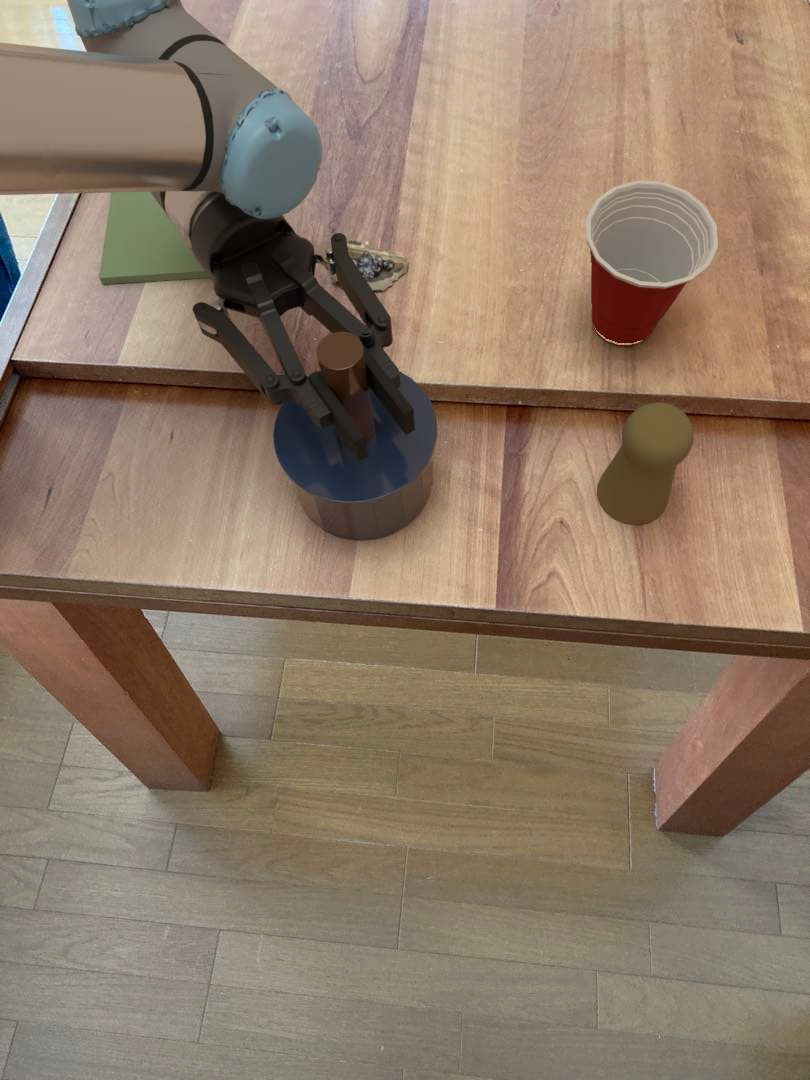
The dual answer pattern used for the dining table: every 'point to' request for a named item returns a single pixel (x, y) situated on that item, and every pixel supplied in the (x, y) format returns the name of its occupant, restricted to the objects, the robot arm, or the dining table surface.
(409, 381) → the lid
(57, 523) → the dining table surface
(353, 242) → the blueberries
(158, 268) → the mat
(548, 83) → the dining table surface
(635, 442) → the pepper shaker
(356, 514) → the pot
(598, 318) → the plastic cup
